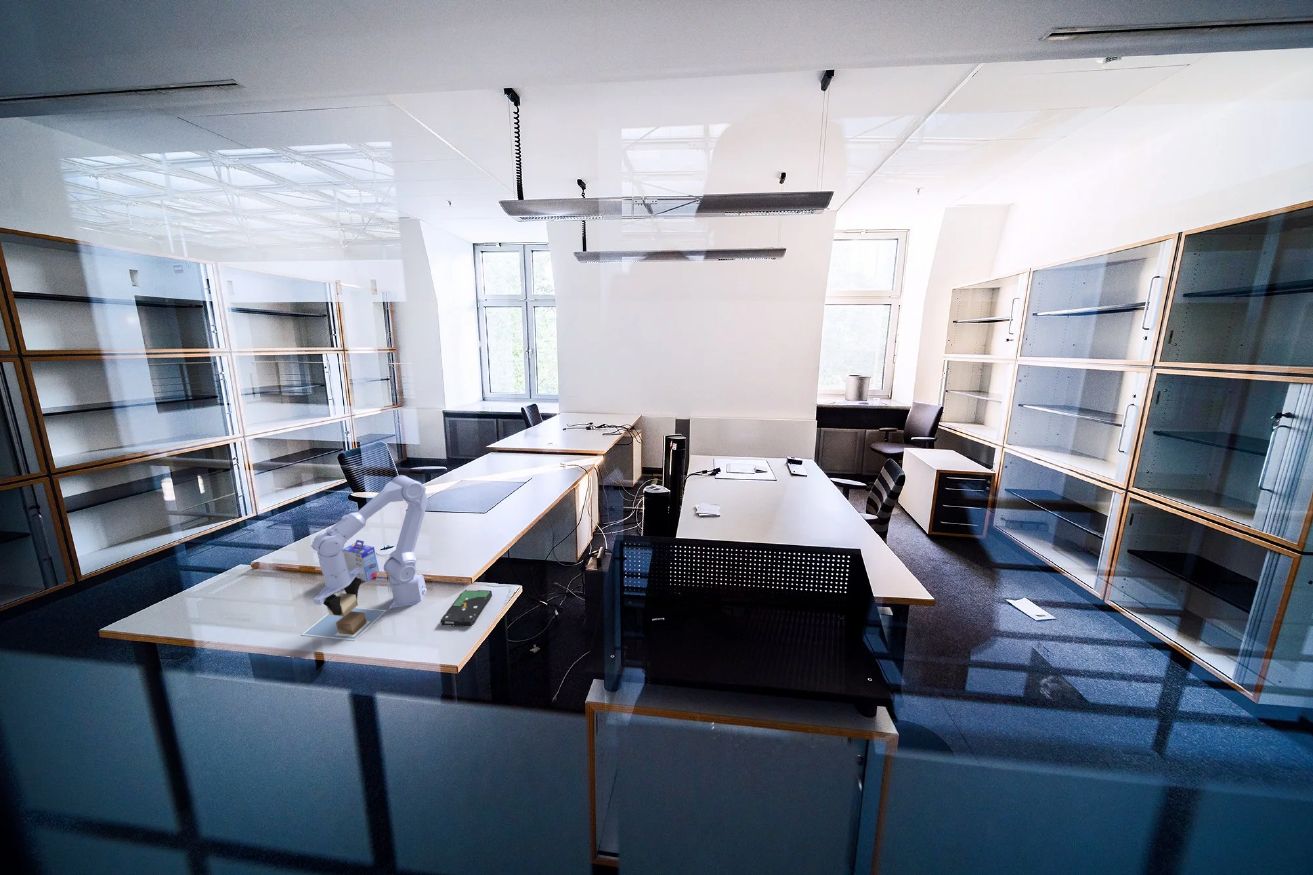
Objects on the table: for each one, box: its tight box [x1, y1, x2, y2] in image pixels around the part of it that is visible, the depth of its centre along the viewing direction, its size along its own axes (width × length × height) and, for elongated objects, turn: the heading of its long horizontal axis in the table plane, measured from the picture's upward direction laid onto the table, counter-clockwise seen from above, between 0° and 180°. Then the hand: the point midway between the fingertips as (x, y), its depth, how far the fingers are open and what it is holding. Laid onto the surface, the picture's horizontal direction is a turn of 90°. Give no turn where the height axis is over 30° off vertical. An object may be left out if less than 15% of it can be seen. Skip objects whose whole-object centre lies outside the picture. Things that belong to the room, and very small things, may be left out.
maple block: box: [326, 592, 359, 616], centre depth 121 cm, size 5×5×4 cm
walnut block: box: [336, 611, 367, 635], centre depth 123 cm, size 5×5×4 cm
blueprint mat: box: [300, 606, 388, 642], centre depth 126 cm, size 18×13×1 cm
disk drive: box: [440, 589, 493, 627], centre depth 133 cm, size 10×3×15 cm
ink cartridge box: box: [342, 539, 380, 582], centre depth 147 cm, size 10×6×14 cm, turn 74°
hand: (345, 607), depth 122 cm, fingers closed on maple block, 5 cm apart
